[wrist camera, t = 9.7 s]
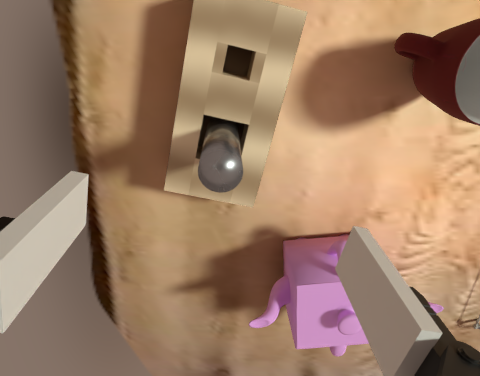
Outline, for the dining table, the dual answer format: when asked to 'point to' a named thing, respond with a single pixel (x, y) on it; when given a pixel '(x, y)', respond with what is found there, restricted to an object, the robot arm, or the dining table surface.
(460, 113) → the mug
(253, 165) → the block
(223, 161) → the pin
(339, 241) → the teapot
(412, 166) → the dining table surface
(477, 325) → the eyeglasses
